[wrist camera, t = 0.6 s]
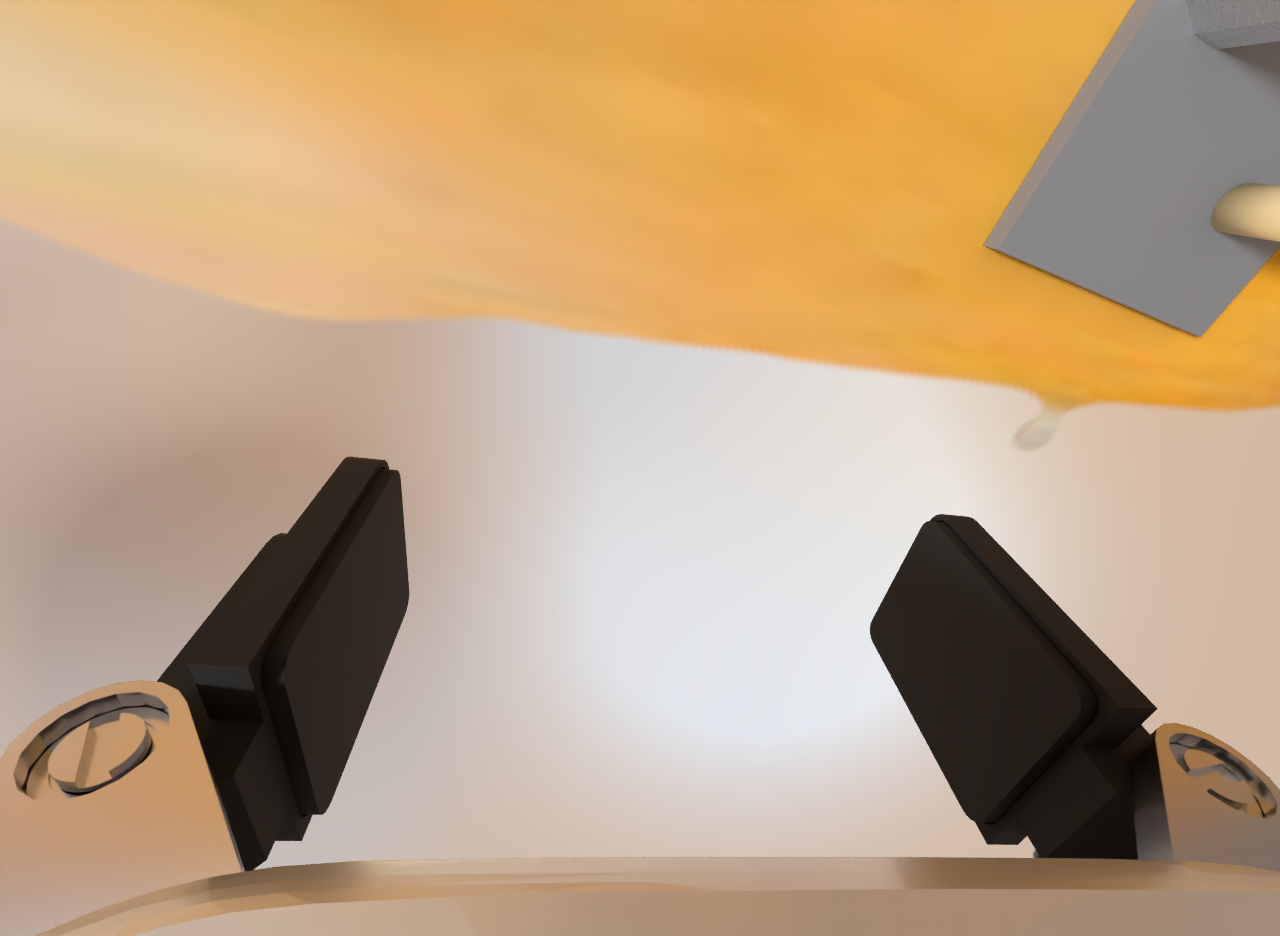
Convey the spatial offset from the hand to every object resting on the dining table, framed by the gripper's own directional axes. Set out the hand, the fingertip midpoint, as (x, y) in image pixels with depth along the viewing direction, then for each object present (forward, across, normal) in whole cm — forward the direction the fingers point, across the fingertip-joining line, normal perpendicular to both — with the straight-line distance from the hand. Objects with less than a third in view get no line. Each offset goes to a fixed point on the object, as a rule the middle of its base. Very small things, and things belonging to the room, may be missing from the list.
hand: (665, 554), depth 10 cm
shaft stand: (+29, -34, -13) cm, 47 cm away
